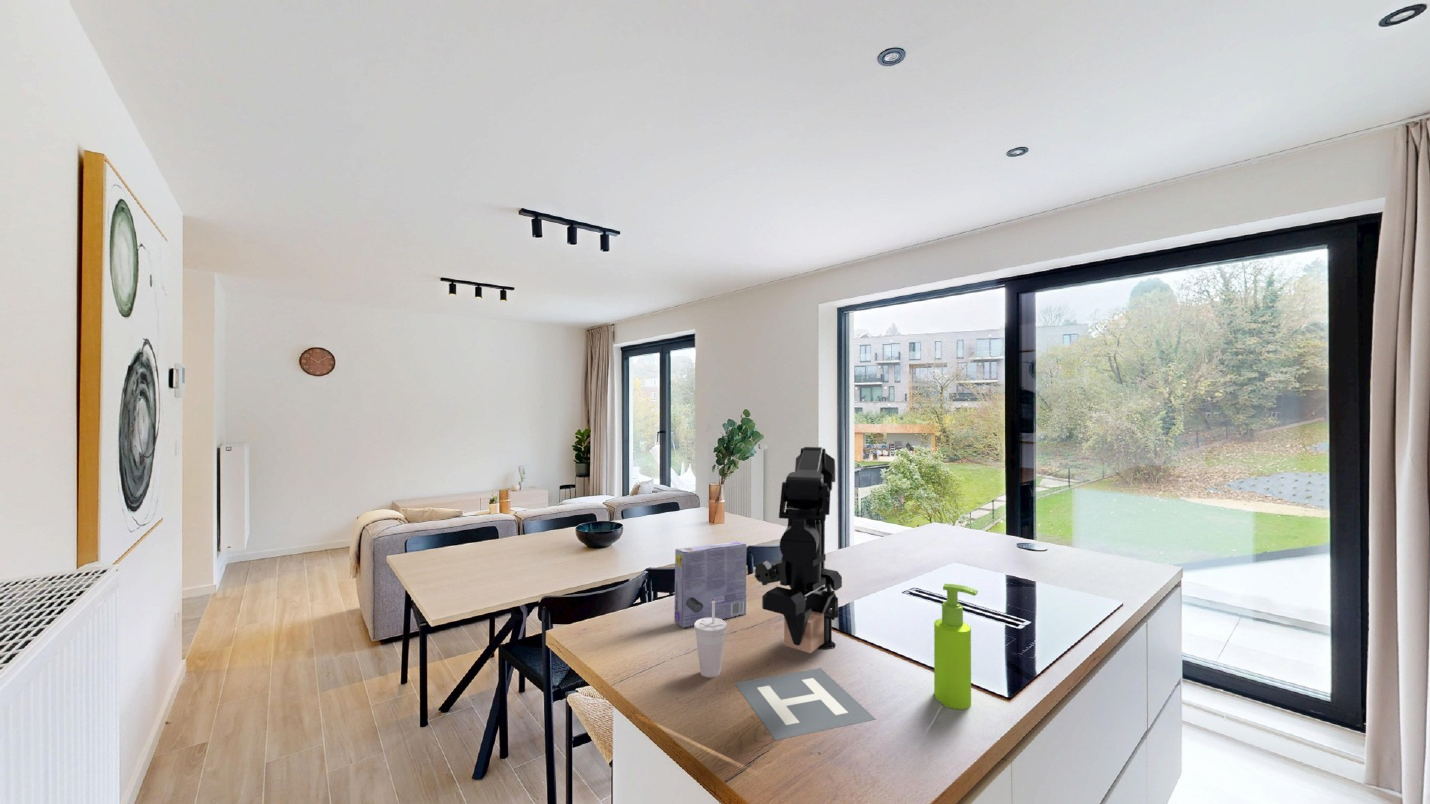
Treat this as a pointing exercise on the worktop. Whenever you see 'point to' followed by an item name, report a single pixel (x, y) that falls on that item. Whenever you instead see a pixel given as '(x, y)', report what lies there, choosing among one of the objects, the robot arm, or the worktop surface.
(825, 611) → the robot arm
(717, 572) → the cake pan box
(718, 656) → the smoothie
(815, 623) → the terracotta block
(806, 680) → the board
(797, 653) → the worktop surface
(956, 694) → the soap dispenser
